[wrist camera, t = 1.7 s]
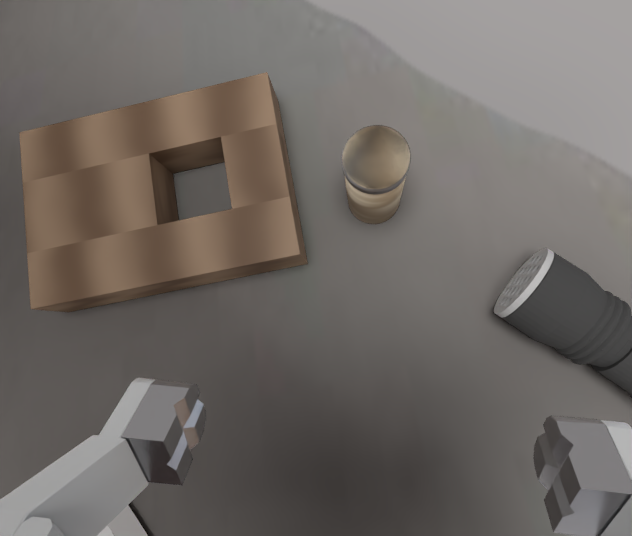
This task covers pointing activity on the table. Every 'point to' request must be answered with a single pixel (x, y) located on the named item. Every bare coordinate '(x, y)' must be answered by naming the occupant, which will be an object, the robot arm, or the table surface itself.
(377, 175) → the beech pin
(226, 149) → the socket block
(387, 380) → the table surface
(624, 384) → the flashlight
